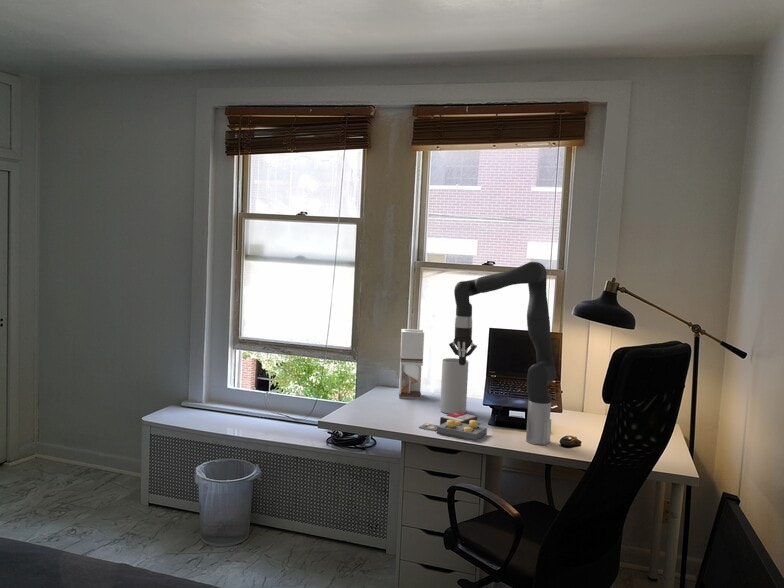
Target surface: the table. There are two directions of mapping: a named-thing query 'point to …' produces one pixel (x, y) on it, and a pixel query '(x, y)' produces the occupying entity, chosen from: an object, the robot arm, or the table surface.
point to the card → (429, 427)
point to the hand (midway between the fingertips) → (462, 365)
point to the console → (462, 432)
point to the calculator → (458, 418)
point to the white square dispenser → (411, 363)
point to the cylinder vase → (453, 386)
